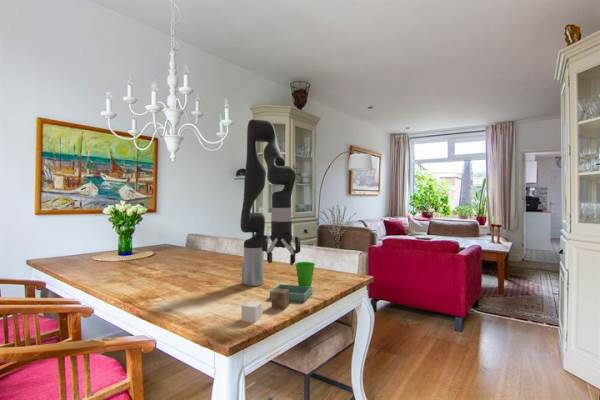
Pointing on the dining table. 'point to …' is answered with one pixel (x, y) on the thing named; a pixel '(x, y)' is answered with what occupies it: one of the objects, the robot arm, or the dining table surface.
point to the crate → (295, 292)
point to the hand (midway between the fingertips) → (281, 263)
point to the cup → (305, 273)
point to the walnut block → (280, 298)
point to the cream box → (251, 311)
